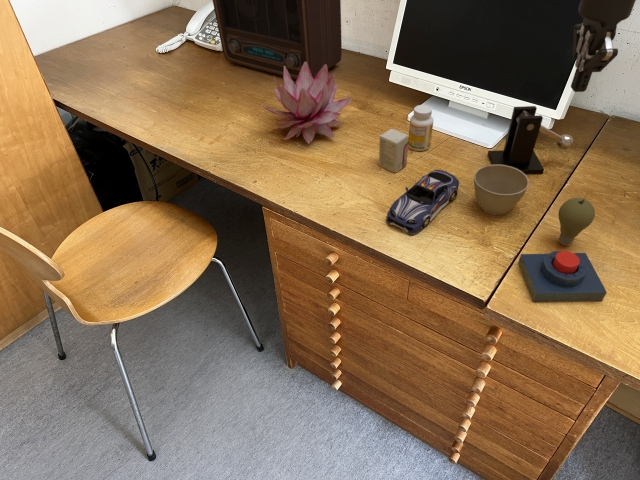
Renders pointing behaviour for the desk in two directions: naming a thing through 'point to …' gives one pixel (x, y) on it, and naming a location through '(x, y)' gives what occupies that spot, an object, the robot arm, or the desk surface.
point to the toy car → (431, 192)
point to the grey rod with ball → (553, 134)
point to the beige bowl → (499, 188)
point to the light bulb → (574, 218)
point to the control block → (560, 279)
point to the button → (566, 262)
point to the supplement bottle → (420, 128)
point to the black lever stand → (520, 143)
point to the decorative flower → (309, 103)
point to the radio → (280, 34)
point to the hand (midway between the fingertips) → (577, 89)
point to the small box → (393, 150)
